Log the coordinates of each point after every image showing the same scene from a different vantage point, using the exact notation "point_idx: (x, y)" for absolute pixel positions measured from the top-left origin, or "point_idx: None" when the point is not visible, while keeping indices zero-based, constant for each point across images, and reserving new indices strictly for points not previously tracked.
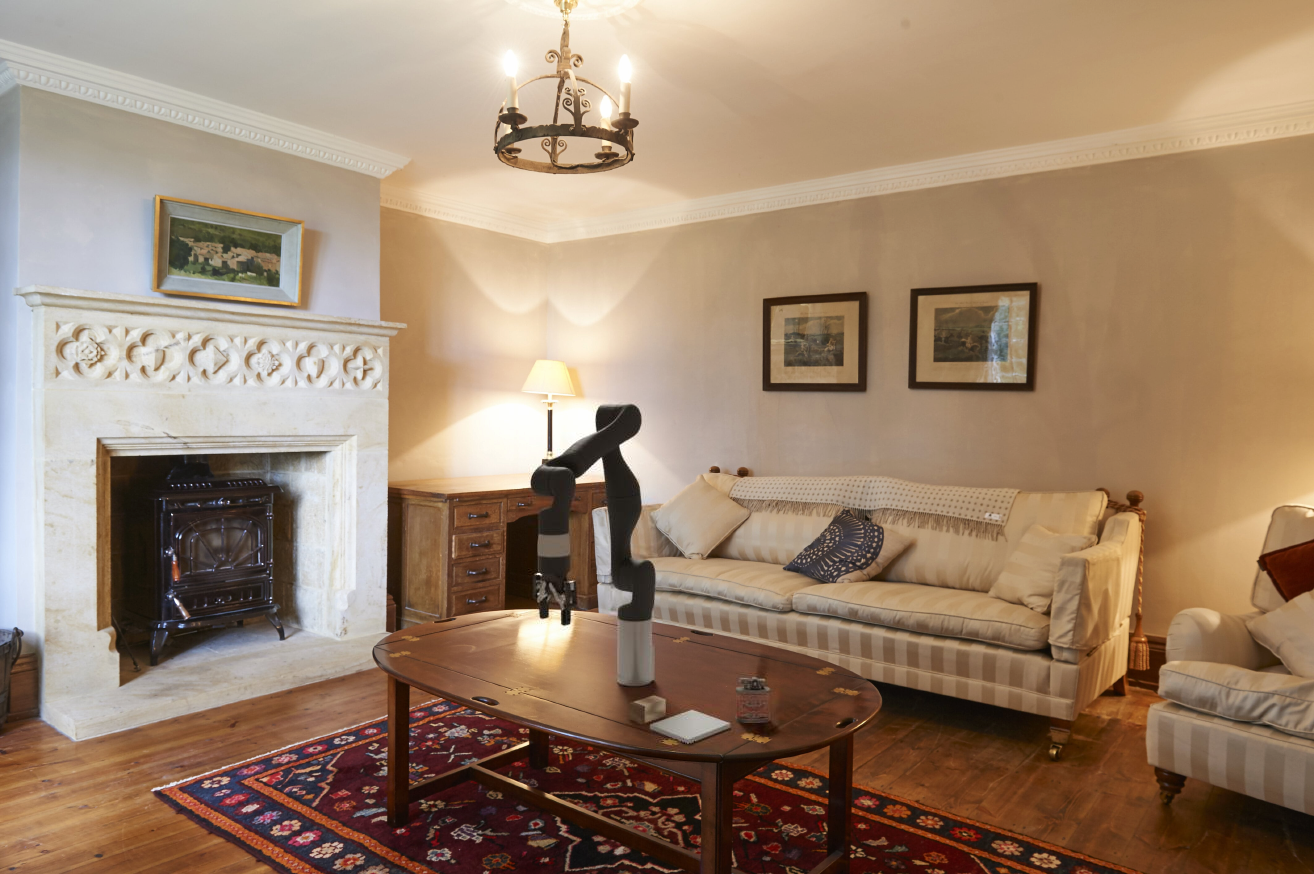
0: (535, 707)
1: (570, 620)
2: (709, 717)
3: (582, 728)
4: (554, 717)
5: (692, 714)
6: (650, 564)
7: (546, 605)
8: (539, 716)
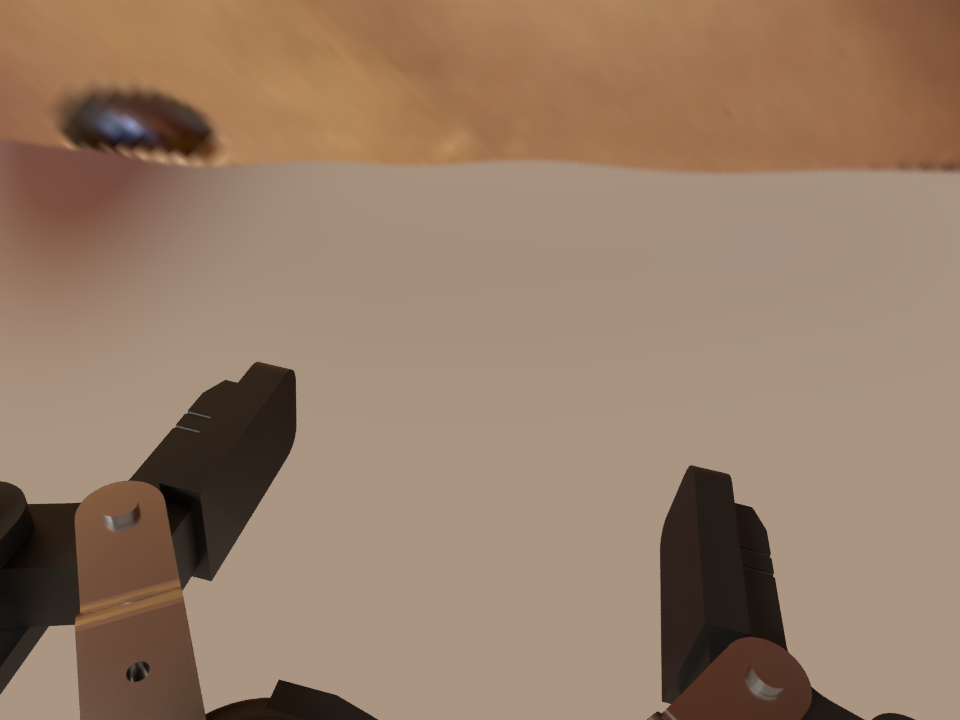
0: (368, 45)
1: (763, 535)
2: None
3: (769, 122)
4: (547, 93)
5: None
6: None
7: (223, 490)
8: (478, 129)
